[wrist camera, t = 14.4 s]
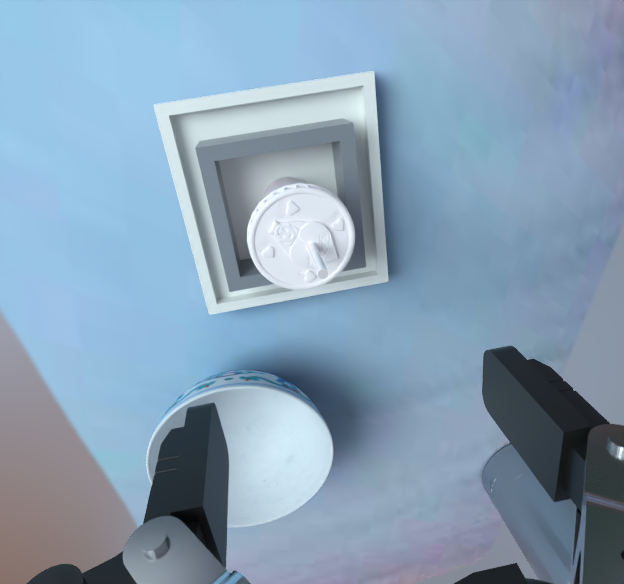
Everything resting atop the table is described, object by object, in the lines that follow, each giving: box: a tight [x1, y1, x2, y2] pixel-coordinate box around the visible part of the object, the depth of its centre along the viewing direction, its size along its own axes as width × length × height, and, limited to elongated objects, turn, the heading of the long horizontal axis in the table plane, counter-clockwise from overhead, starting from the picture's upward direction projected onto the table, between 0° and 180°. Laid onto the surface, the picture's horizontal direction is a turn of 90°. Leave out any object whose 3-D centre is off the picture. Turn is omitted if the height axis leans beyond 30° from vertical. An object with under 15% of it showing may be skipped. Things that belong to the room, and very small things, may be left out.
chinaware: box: [146, 370, 334, 527], centre depth 41 cm, size 15×15×8 cm
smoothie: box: [247, 177, 355, 290], centre depth 29 cm, size 6×6×14 cm
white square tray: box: [154, 71, 389, 315], centre depth 35 cm, size 15×16×5 cm
